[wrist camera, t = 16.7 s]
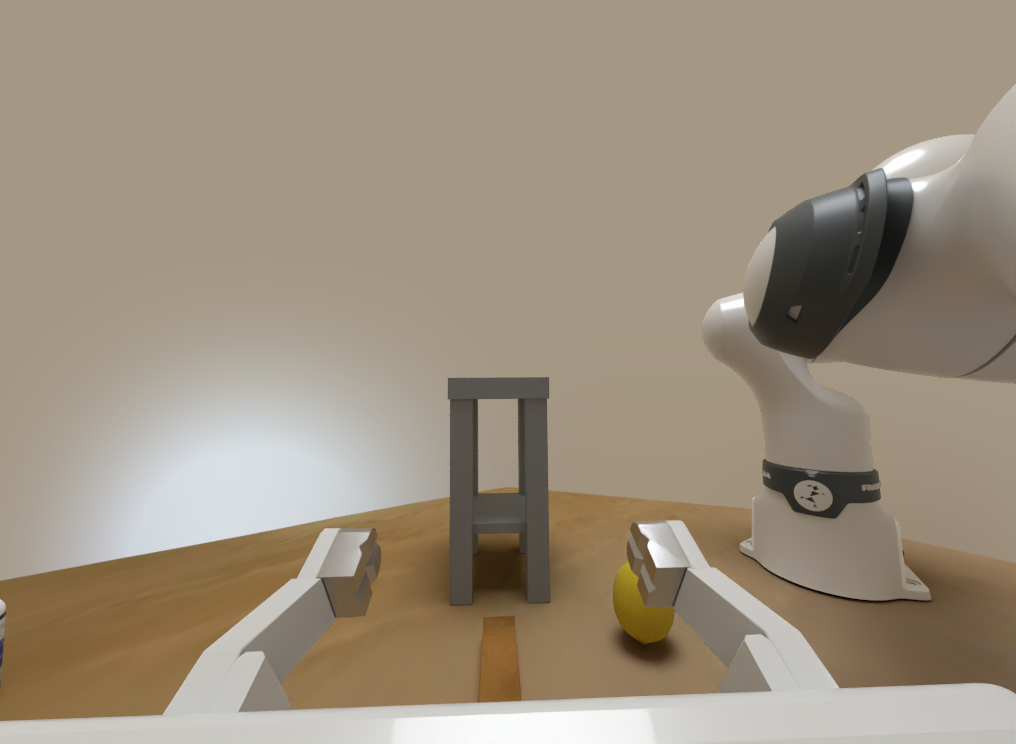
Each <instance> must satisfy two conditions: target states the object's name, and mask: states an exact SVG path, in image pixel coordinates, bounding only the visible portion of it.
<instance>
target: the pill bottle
mask: <svg viewBox="0 0 1016 744" xmlns="http://www.w3.org/2000/svg"><path fill="white" fill-rule="evenodd" d="M5 616H6V606H5V603H4V602H3V601H2V600H0V686H1V673H2V657H3V642H4V627H5Z"/></svg>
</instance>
